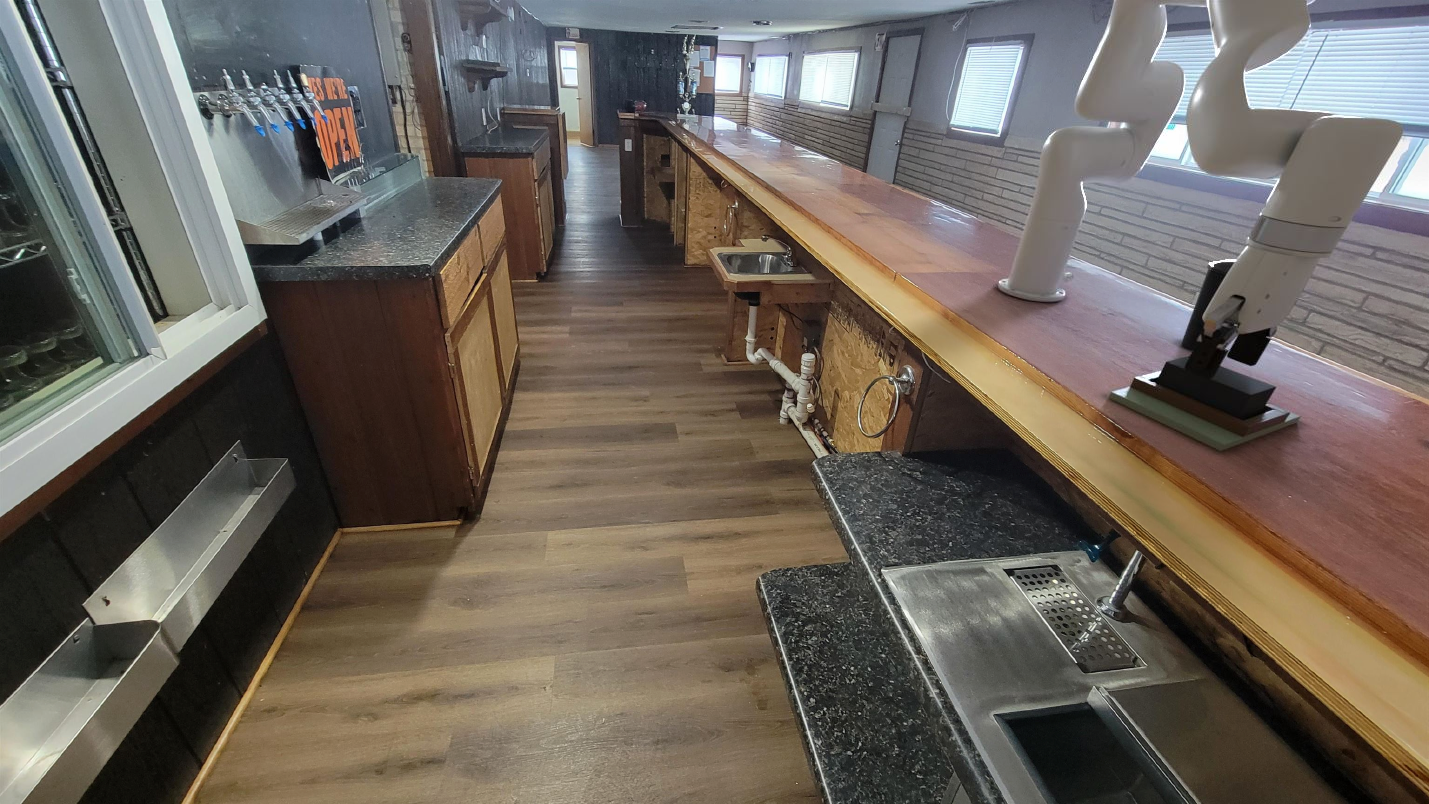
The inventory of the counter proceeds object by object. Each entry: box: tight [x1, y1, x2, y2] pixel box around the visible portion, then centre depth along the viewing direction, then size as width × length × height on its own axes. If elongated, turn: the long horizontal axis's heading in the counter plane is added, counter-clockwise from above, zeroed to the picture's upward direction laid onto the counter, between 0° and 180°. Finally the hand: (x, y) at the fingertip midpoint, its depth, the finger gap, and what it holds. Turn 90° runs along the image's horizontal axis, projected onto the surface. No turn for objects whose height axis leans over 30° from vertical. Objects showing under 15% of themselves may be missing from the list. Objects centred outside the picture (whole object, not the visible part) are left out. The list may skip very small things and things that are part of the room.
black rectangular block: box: [1156, 355, 1277, 420], centre depth 75 cm, size 10×6×4 cm, turn 25°
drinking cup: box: [1180, 244, 1249, 351], centre depth 91 cm, size 8×8×20 cm
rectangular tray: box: [1108, 370, 1302, 452], centre depth 76 cm, size 18×14×2 cm
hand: (1219, 367), depth 74 cm, fingers open, 9 cm apart
